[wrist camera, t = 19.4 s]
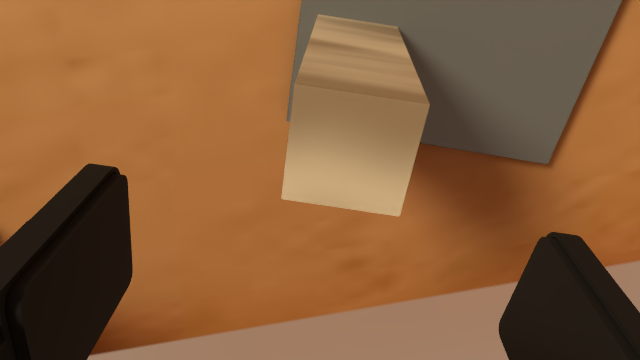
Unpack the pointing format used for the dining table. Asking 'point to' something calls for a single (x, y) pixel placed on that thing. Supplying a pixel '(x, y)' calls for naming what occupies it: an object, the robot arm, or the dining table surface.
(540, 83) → the mat
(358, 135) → the light wood block
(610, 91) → the dining table surface
